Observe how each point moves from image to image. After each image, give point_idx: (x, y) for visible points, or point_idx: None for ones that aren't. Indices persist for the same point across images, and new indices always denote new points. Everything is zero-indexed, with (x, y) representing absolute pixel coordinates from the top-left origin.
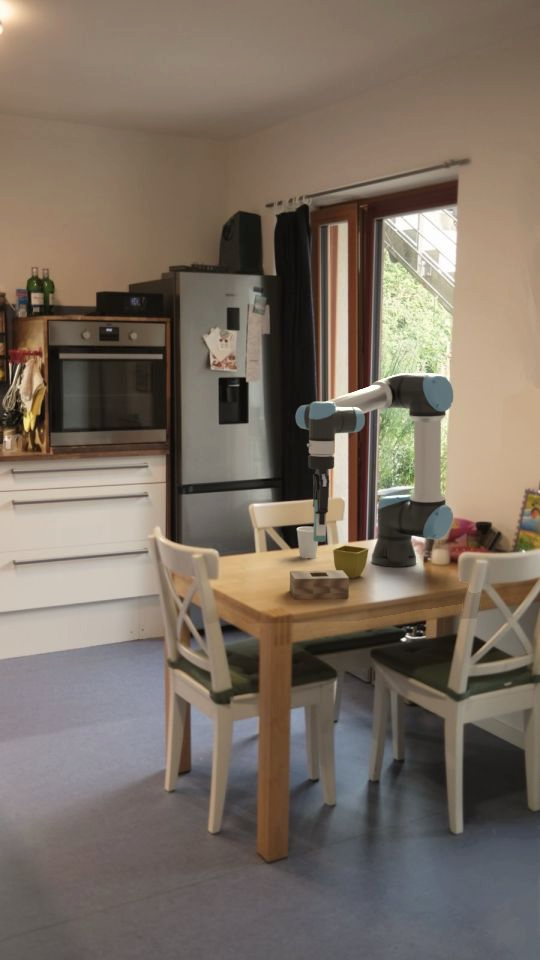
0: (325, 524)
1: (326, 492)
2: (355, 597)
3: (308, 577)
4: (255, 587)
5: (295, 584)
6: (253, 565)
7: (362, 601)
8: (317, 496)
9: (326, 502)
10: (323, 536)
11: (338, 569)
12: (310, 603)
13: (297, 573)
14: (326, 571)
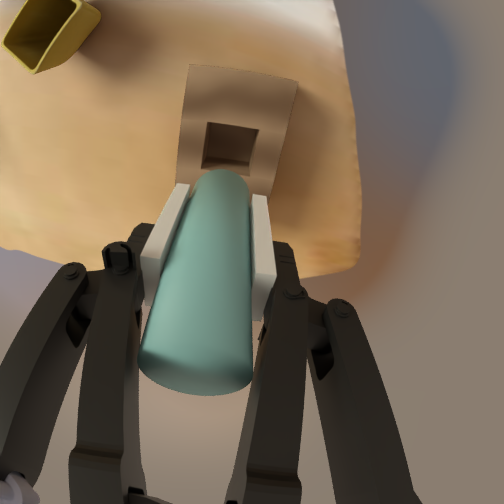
0: (269, 230)
1: (392, 454)
2: (287, 61)
3: (256, 188)
4: None
5: None
6: (7, 212)
7: (329, 63)
8: (136, 396)
9: (370, 375)
10: (248, 198)
11: (71, 54)
12: (305, 181)
13: None
14: (194, 116)
